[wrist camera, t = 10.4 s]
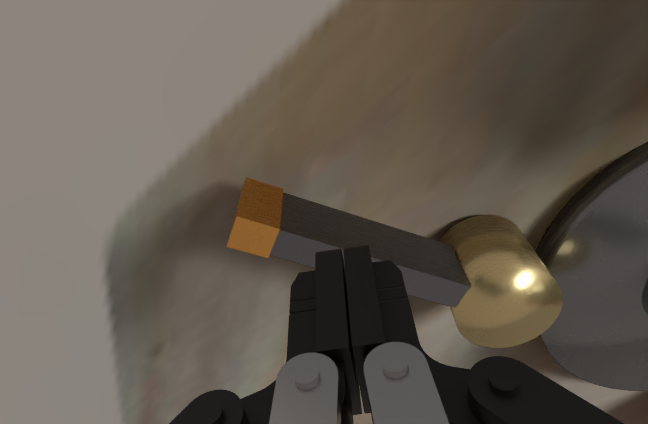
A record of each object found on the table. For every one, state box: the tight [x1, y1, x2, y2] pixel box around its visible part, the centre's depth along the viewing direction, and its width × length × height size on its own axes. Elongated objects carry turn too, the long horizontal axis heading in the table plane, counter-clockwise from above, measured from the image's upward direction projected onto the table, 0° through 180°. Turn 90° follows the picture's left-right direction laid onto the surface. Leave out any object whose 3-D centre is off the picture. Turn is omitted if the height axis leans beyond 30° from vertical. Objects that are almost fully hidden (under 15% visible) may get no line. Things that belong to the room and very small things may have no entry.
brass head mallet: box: [226, 177, 563, 348], centre depth 20 cm, size 14×4×4 cm, turn 69°
